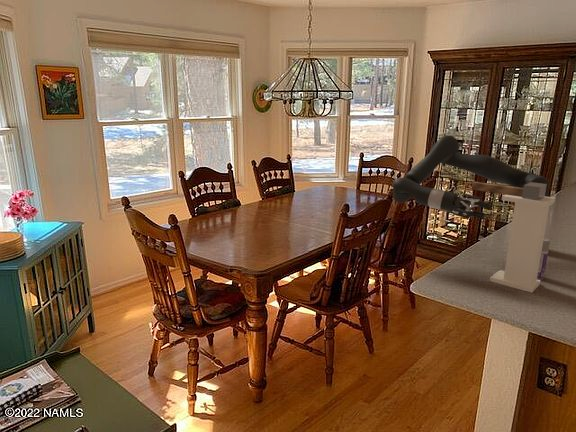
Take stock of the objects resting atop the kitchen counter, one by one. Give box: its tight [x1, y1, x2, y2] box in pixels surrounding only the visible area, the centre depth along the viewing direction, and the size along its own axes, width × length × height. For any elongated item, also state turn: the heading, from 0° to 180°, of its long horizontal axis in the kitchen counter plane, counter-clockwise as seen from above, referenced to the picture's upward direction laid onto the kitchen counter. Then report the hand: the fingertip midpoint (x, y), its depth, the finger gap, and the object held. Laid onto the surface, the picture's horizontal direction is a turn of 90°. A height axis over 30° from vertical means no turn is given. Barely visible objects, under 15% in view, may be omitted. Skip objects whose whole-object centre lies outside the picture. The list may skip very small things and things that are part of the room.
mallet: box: [471, 181, 547, 201], centre depth 152 cm, size 23×8×4 cm, turn 47°
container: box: [537, 237, 551, 281], centre depth 159 cm, size 5×5×15 cm
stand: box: [489, 194, 556, 293], centre depth 152 cm, size 14×10×32 cm
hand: (487, 211), depth 157 cm, fingers open, 8 cm apart
